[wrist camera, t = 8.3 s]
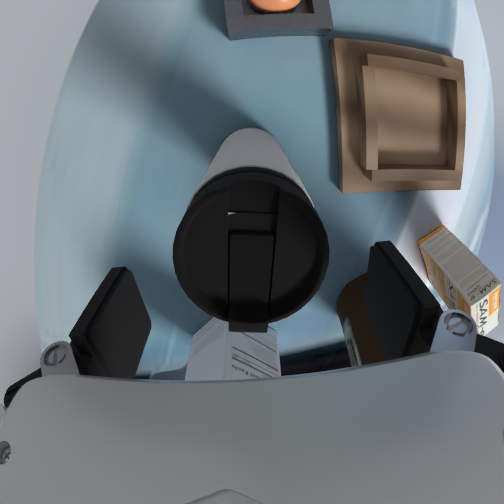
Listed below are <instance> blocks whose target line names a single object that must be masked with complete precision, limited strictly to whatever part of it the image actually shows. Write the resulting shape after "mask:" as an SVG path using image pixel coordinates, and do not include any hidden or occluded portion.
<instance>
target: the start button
mask: <svg viewBox="0 0 504 504" xmlns="http://www.w3.org/2000/svg"><path fill="white" fill-rule="evenodd" d="M300 1H301V0H248V2H249V4H250V5H251V6H252V7H253V8H254V9H255V10H257V11H259V12H261V13H263V14H287V13H289V12H291V11H293V10H294V9H295V8H296V7H297V6H298V4H299V2H300Z"/></svg>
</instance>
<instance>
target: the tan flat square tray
mask: <svg viewBox="0 0 504 504" xmlns="http://www.w3.org/2000/svg"><path fill="white" fill-rule="evenodd" d="M330 49H331V58H332V67H333V77H334V88H335V101H336V117H337V137H338V173H339V190H340V191H341V192H342V193H343V194H344V193H361V192H381V191H409V190H460V188H461V180H462V171H463V161H464V148H465V126H466V98H465V77H464V64H463V60H460V59H457V58H453V57H450V56H446V55H442V54H439V53H435V52H430V51H426V50H422V49H417V48H412V47H407V46H401V45H396V44H389V43H382V42H375V41H366V40H356V39H344V38H333V39H331V40H330Z"/></svg>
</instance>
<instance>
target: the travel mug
mask: <svg viewBox="0 0 504 504" xmlns="http://www.w3.org/2000/svg"><path fill="white" fill-rule="evenodd" d="M173 263H174V268H175V273H176V275H177V278H178V280H179V283H180V285H181V287H182V288H183V290H184V291H185V293H186V294H187V296H188V297H189V298H190V299H191V300H192V301H193V302H194V303H195V304H196V305H197V306H198V307H199V308H201V309H202V310H203V311H205V312H206V313H208V314H209V315H211V316H213V317H215V318H217V319H220V320H223V321H226V322H229V332H247V333H267V331H268V323H272V322H276V321H279V320H281V319H284V318H286V317H289V316H290V315H292V314H294V313H295V312H297V311H298V310H300V309H301V308H302V307H303V306H304V305H306V304H307V303H308V302H309V301H310V300H311V299H312V297H313V296H314V295H315V293H316V292H317V291H318V290H319V288H320V286H321V284H322V282H323V280H324V278H325V275H326V271H327V268H328V264H329V244H328V238H327V234H326V232H325V229H324V226H323V224H322V221H321V220H320V218H319V216H318V214H317V212H316V210H315V208H314V205H313V203H312V200H311V198H310V196H309V195H308V193H307V191H306V189H305V187H304V186H303V184H302V182H301V180H300V179H299V177H298V175H297V173H296V172H295V170H294V168H293V167H292V165H291V163H290V161H289V160H288V158H287V156H286V155H285V153H284V151H283V150H282V148H281V146H280V145H279V143H278V142H277V140H276V139H275V138H274V137H273V136H272V135H271V134H270V133H268V132H267V131H265V130H262V129H259V128H254V127H247V128H242V129H239V130H237V131H234V132H233V133H232V134H230V135H229V136H228V137H227V138H226V139H225V140H224V142H223V144H222V145H221V147H220V149H219V150H218V152H217V154H216V156H215V157H214V159H213V161H212V163H211V164H210V166H209V168H208V170H207V171H206V173H205V175H204V177H203V178H202V180H201V182H200V184H199V186H198V187H197V189H196V191H195V193H194V195H193V197H192V199H191V201H190V202H189V204H188V207H187V211H186V213H185V215H184V217H183V219H182V221H181V223H180V225H179V227H178V229H177V231H176V235H175V239H174V243H173Z"/></svg>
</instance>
